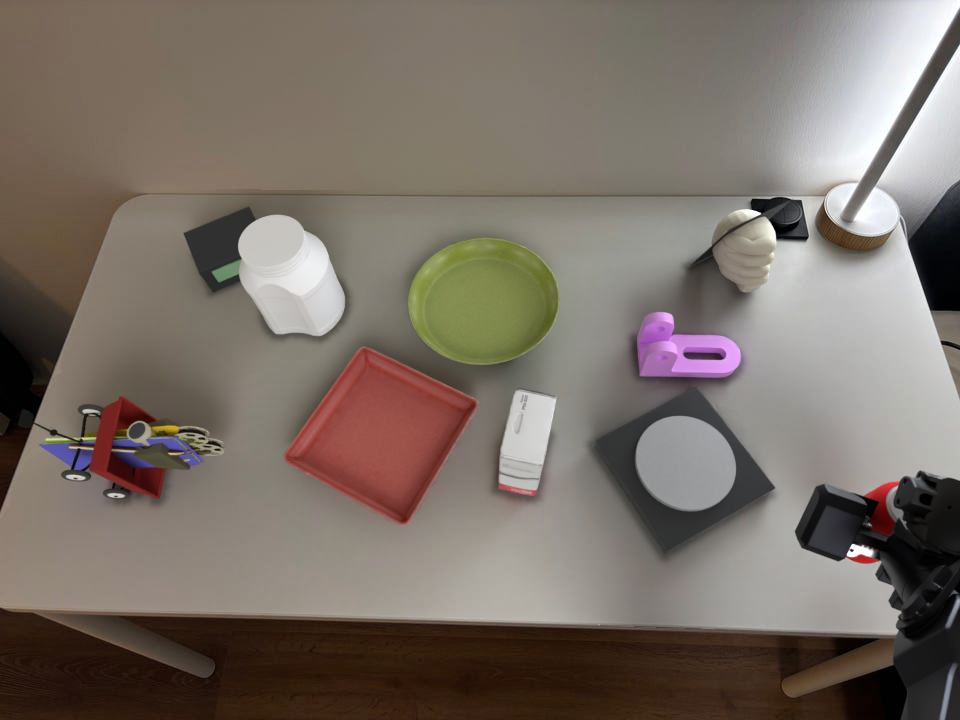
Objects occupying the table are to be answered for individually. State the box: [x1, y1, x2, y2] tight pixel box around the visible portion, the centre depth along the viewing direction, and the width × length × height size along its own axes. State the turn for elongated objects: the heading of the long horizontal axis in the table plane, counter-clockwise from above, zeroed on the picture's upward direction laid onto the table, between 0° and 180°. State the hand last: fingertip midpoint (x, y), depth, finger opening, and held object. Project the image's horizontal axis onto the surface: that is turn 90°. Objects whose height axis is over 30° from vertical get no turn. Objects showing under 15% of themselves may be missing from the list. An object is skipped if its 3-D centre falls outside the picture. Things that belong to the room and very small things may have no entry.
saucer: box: [407, 237, 561, 366], centre depth 90 cm, size 21×21×3 cm
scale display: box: [182, 205, 257, 293], centre depth 95 cm, size 8×10×5 cm
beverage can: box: [845, 480, 904, 565], centre depth 67 cm, size 6×6×12 cm
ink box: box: [497, 387, 557, 497], centre depth 76 cm, size 9×5×12 cm, turn 167°
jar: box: [238, 214, 346, 337], centre depth 86 cm, size 12×10×15 cm
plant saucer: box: [282, 346, 479, 527], centre depth 81 cm, size 18×18×3 cm
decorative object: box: [689, 198, 794, 293], centre depth 88 cm, size 13×10×10 cm
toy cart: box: [17, 395, 226, 500], centre depth 75 cm, size 17×9×20 cm
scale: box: [594, 386, 776, 555], centre depth 78 cm, size 15×15×3 cm
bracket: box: [636, 311, 742, 379], centre depth 83 cm, size 13×6×7 cm, turn 88°
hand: (886, 509), depth 67 cm, fingers closed on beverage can, 6 cm apart
